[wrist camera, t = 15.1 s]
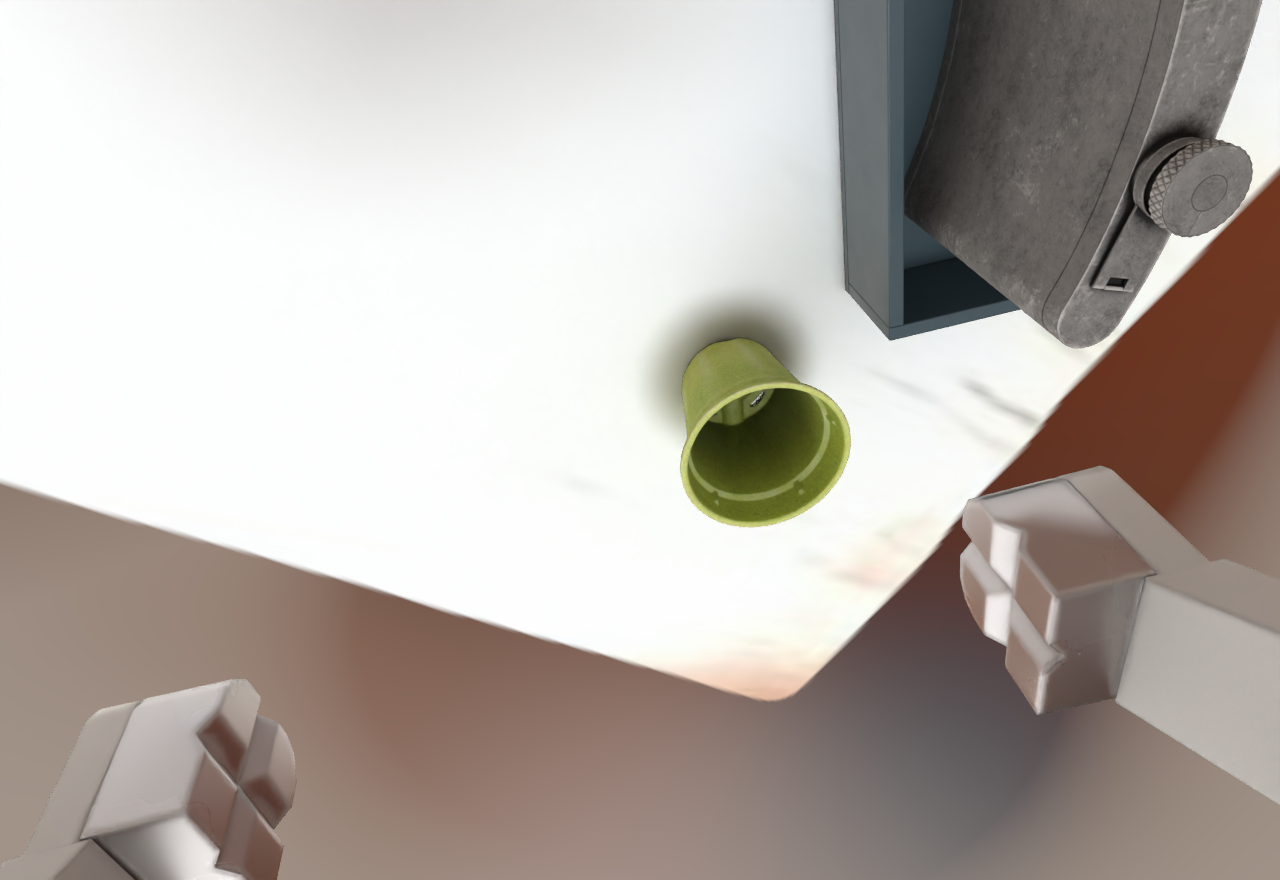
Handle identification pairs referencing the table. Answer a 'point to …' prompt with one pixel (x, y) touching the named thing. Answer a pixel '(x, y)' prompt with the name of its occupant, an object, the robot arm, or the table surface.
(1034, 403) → the table surface
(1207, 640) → the robot arm
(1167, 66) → the flask
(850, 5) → the tote
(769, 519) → the plant pot
